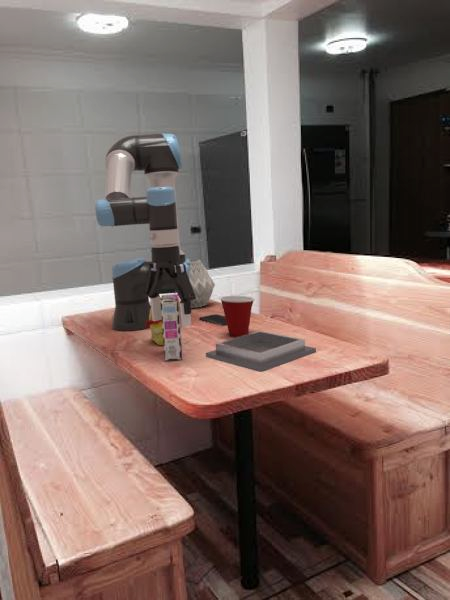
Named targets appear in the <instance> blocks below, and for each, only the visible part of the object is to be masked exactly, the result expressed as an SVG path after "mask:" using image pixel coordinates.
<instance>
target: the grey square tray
mask: <svg viewBox="0 0 450 600" xmlns="http://www.w3.org/2000/svg"><path fill="white" fill-rule="evenodd" d="M316 351H317V349H316V347H313V346H307V345H306V339H303V338H298V337H293V336H289V335H285V334H284V335H283V334H279V333H278V334H277V333H274V332H273V333H272V332H270V331H269V332H268V331H263V330H257V331H253V332H251V333H248V334H246V335H243V336H240V337H232V338H230V339H226V340H223V341H220V342H217V343H215V350H211V351H207V352H206V353H205V357H206V358H210V359H214V360H217V361H221V362H224V363H228V364H231V365H235V366H239V367H242V368H246V369H249V370H254V371H257V372H264V371H267V370H270V369H273V368H275V367H278V366H281V365H283V364H287V363H288V362H292V361H294V360H297V359H300V358H303V357H305V356H308V355H310V354H311V355H312V354H313V353H316Z"/></svg>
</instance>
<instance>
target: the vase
mask: <svg viewBox="0 0 450 600" xmlns="http://www.w3.org/2000/svg"><path fill="white" fill-rule="evenodd" d="M189 260H190V270H189V280H190V283H191V285H192V288H193V291H194V293H195V296H196V299H195V300H192V301H191V309H198V308H199V307H201V308H203V307H202V306H205V305H206V306H207V305H208V302H209V301H210V299H211V297H212V293H213V292H214V288H215V286H216V284H215V282H214V280H213V278H212V277H211V276H210V274H209V271H208V269H207V268H206V266H204V264H203V262H202V260H201V259H189ZM190 296H191V295H190ZM178 298H179V299H180V297H179V295H178ZM206 306H205V307H206ZM197 307H198V308H197Z"/></svg>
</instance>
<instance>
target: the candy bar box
mask: <svg viewBox="0 0 450 600" xmlns="http://www.w3.org/2000/svg"><path fill="white" fill-rule="evenodd" d="M160 297H161V301H160V303H161V316H162V330H163V343H164V346H163V352H164V353H163V354H164V356H163V357H164V362H169V361H172V362H173V361H181V360H183V341H182V339H183V338H182V325H181V312H180V298H179V296H178V294H177V293H175V294H174V293H170V294H161V296H160Z"/></svg>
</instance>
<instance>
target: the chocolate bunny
mask: <svg viewBox="0 0 450 600" xmlns="http://www.w3.org/2000/svg"><path fill="white" fill-rule="evenodd" d="M158 297H160V301H161V297H162V296H161V295H160V296H158ZM149 324H150V327H149ZM145 327H146V328H145V329H146V330H148V329H150V333H151V334H150V335H151V339H152V341H153V342H155V343H156V344H157V345H158V346H163V347H164V343H163V330H162V320H158V321H153V319H152V308H151V309H150V313H149V321H147V323H146V324H145ZM148 327H149V328H148Z"/></svg>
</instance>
